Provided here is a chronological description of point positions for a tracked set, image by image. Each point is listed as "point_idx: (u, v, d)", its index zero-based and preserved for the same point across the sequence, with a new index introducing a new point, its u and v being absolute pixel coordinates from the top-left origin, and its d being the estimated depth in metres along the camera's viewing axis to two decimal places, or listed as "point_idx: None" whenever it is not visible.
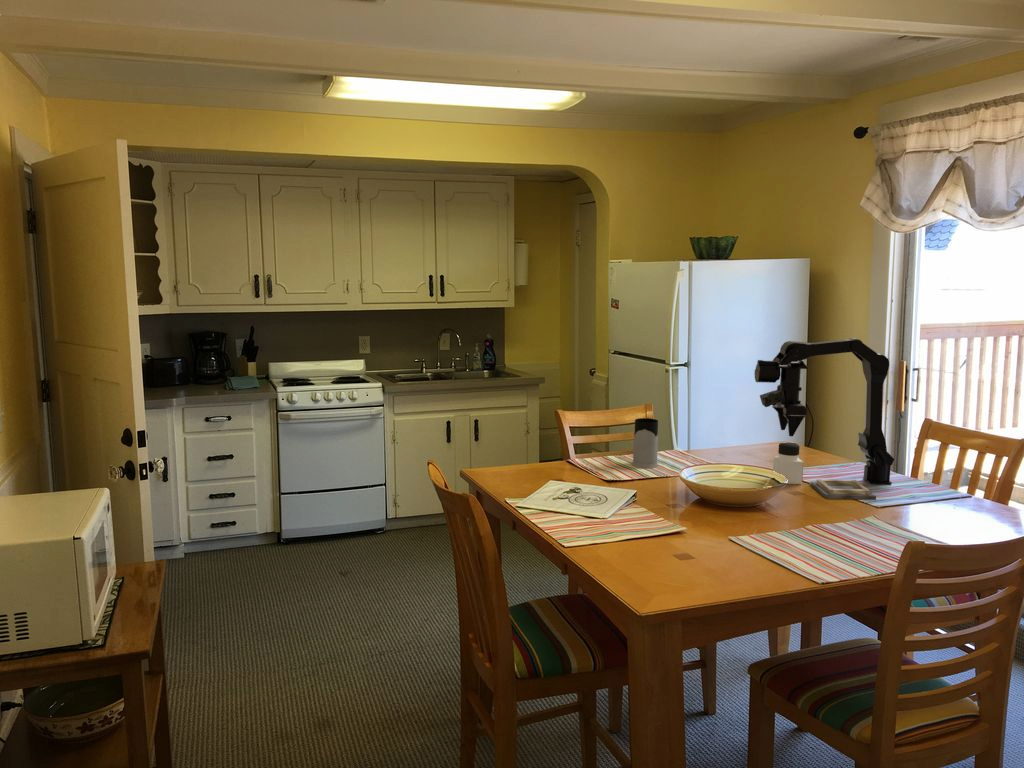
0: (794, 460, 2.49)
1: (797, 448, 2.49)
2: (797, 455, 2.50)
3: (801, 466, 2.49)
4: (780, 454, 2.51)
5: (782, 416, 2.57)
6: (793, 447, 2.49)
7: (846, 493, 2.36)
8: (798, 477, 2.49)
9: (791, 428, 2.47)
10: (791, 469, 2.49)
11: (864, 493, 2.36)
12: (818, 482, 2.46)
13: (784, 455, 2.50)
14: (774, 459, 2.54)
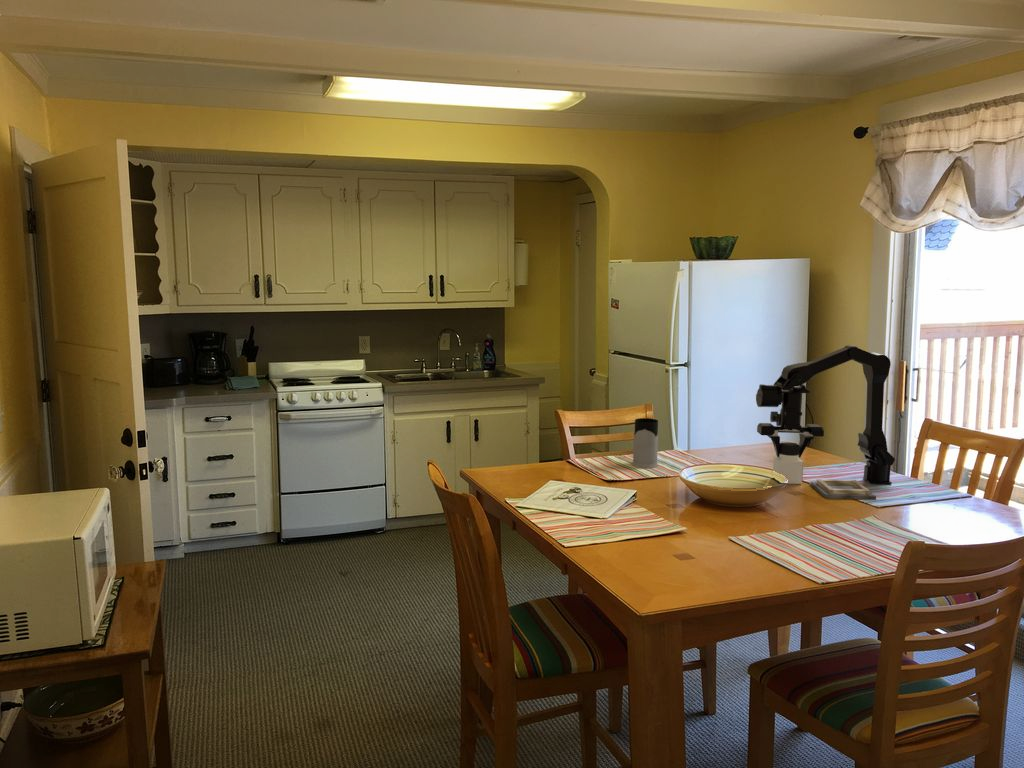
0: (794, 460, 2.49)
1: (797, 448, 2.49)
2: (797, 455, 2.50)
3: (801, 466, 2.49)
4: (780, 454, 2.51)
5: (800, 443, 2.52)
6: (793, 447, 2.49)
7: (846, 493, 2.36)
8: (798, 476, 2.49)
9: None
10: (791, 468, 2.49)
11: (864, 493, 2.36)
12: (818, 482, 2.46)
13: (784, 455, 2.50)
14: (774, 459, 2.54)
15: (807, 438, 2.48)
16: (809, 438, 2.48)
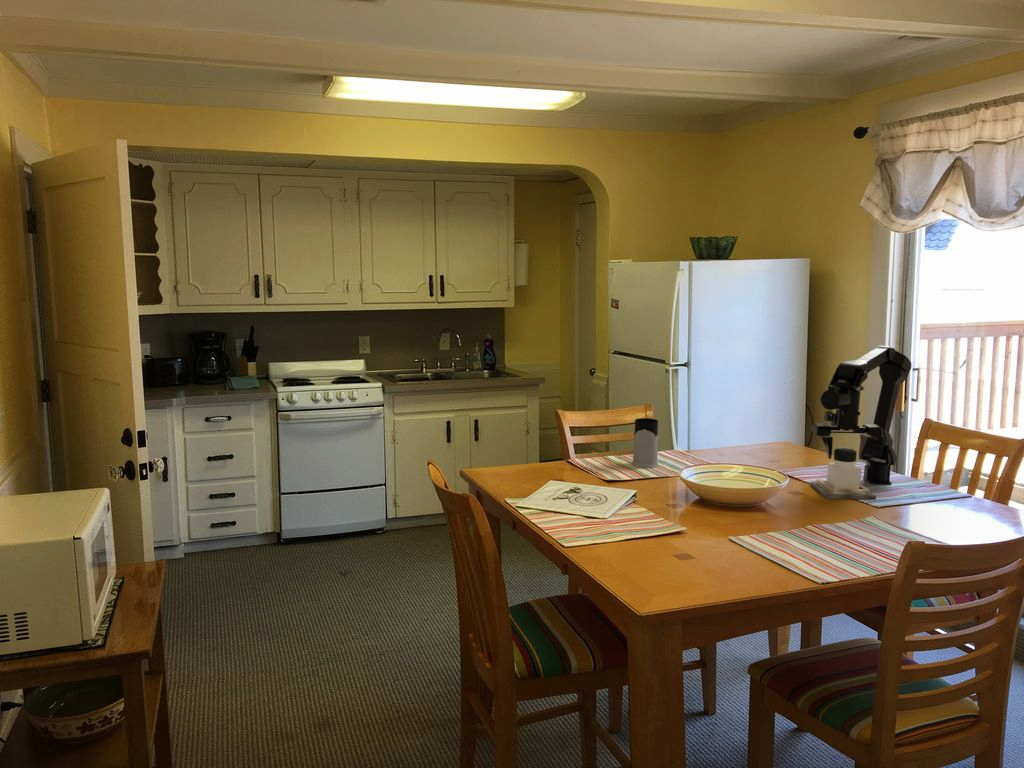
0: (851, 467, 2.38)
1: (854, 454, 2.38)
2: (854, 461, 2.38)
3: (859, 473, 2.37)
4: (836, 460, 2.39)
5: (861, 444, 2.40)
6: (850, 453, 2.37)
7: (846, 493, 2.36)
8: (856, 484, 2.38)
9: (826, 449, 2.40)
10: (848, 476, 2.37)
11: (864, 493, 2.36)
12: (818, 482, 2.46)
13: (840, 461, 2.38)
14: (829, 465, 2.43)
15: (869, 439, 2.36)
16: (871, 439, 2.36)
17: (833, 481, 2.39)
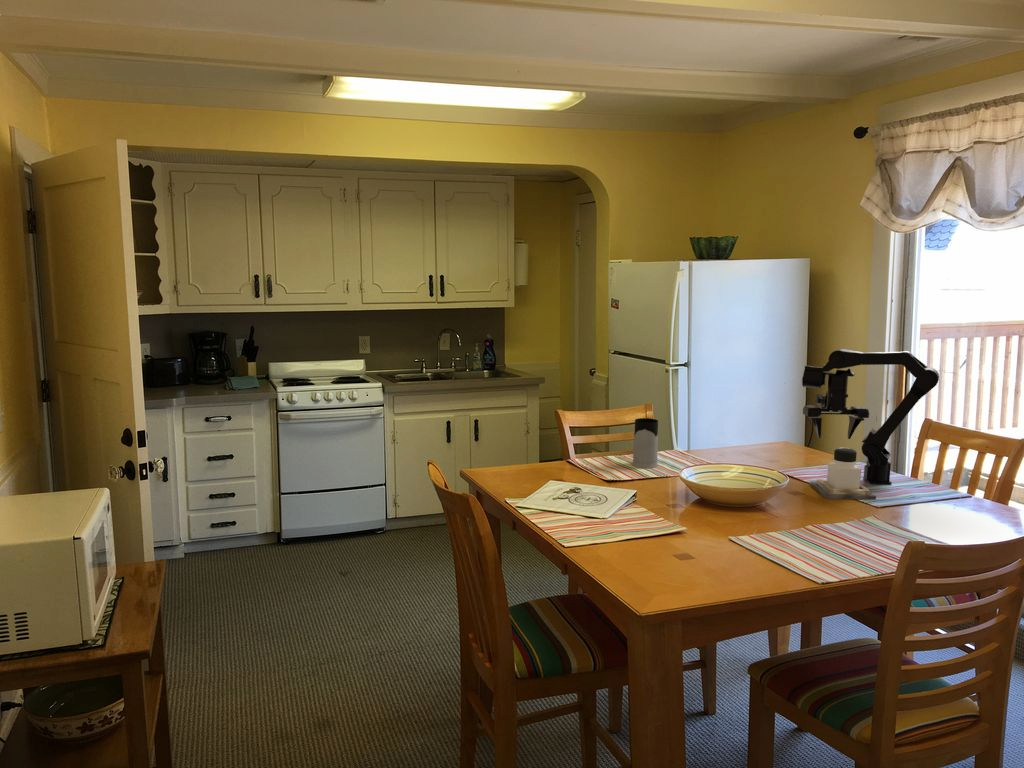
0: (851, 467, 2.38)
1: (854, 454, 2.38)
2: (854, 461, 2.38)
3: (859, 473, 2.37)
4: (836, 460, 2.39)
5: (849, 425, 2.58)
6: (850, 453, 2.37)
7: (846, 493, 2.36)
8: (856, 484, 2.38)
9: (816, 429, 2.59)
10: (848, 476, 2.37)
11: (864, 493, 2.36)
12: (818, 482, 2.46)
13: (841, 461, 2.38)
14: (829, 466, 2.43)
15: (857, 420, 2.54)
16: (859, 420, 2.54)
17: (833, 481, 2.39)
